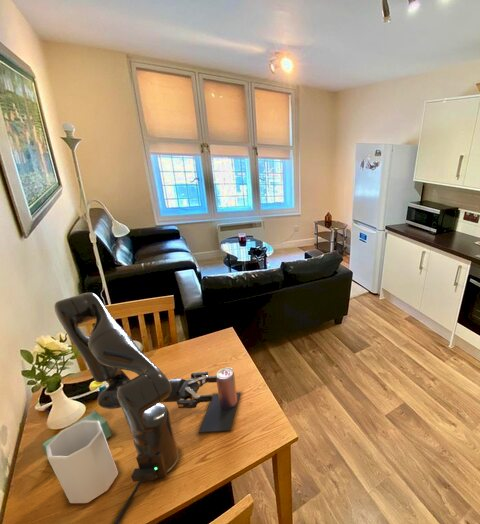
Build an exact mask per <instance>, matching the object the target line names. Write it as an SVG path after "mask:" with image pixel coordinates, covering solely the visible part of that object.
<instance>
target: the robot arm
mask: <svg viewBox="0 0 480 524" xmlns="http://www.w3.org/2000/svg"><path fill="white" fill-rule="evenodd" d="M53 306H54V307H53V308H54V312H55V315H56V317H57V320H58V322H59V323H60V325H61V326H62V328H63V329H64V331H65V332H66V334H67V336H68V337H69V339H70V340H71V342H72V343H73V345H74V346H75V348H76V349H77V351H78V352H79V353H80V355H81V356H82V358H83V359H84V362H85V363H86V365H87V368H88V370H89V372H90V374H91V376H92V378H93V380H94V381H95V382H96V383H105V382H106V383H107V385H108V386H106V387H105V388H104V389H103V390H102V391H100V393H99V394H98V396H97V399H96V400H97V404H98V405H99V407H100V408H103V409H105V410H115V409H120V408H121V410H122V412H123V414H124V417H125V420H126V424H127V426H128V429H129V432H130V435H131V439H132V442H133V445H134V447H135V451H136V454H137V456H136V458H135V459H136V463H137V465H138V468H137V467H136V468H134V470H133V472H132V474H131V475H130V477H131V480H132V482H133V483H134V482H137V484H136V486H135V487H134V489H133V491H132V492H131V494H130V495H129V497H128V499H127V501H126V503H125V504H124V506H123V508H122V509H121V511H120V513H119V515H118V517H117V518H116V520H115V522H113V524H119V522H120V521H121V519H122V517H123V515H124V514H125V512H126V511H127V508H128V507H129V505H130V504H131V501H132V500H133V498H134V496H135V495H136V493H137V491H138V490H139V488H140V486H141V485H142V483H143V482H146V481H147V482H148V481H154V480H155V479H161V478H162V479H163V478H166V477H167V475H168V474H169V473H170V472H171V471H172V470H173V469H174V468H175V466H176V465H177V464H178V461H179V459H180V452H179V449H178V445H177V441H176V436H175V433H174V429H173V425H172V420H171V416H170V411H169V408H168V407H167V406H166V405H165V404H163V403H176V404H177V408H178V409H195V408H197V406H198V404H200V403H210V402H211V401H212V396H213V394H202V395H199V394H198V391H199V390H200V388H201V387H203V386H204V385H205V384H207V383H211V384H212V383H213V384H214V383H217V380H216V375H209V372H208V371H199V372H192V373H190V378H189V379H187V380H186V379H184V378H170V379H169V378H168V377H167V375H166V374H165V373H164V372H163V371H162V370H161V369H160V368H159V367H158V366H157V365H155V363H154V362H152V360H151V359H149V358H148V356H146V355H145V354H144V353H143V352H142V350H141V349H140V348H139V346H137V344H136V342H135V341H134V339H132V337H131V336H130V335H129V334H128V333H127V332H126V331H125V329H124V328H123V327H122V326H121V325H120V324H119V323H118V322H117V320H116V319H115V318H114V317H113V316H112V314H111V313H110V311H109V310H108V308H107V307H106V305H105V303H104V302H103V301H102V300H101V298H100V297H99V296H98V295H97V294H96V293H94V292H84V293H81V294H76V295H73V296H70V297H66V298H64V299H60V300H57V301H56V302H55V303H54V305H53ZM93 320H95V324H94V326H93V328H92V330H91V332H90V334H89V336H88V335H86V334H85V333H84V332H83V331H82V330H81V328H80V327H79V325H81V324H84V323H85V324H86V323H88V322H90V321H93ZM123 370H124V371H129V372H133V373H135V374H136V375H137V376H135V377H133V378H132V379H131V378H130V377H129V376H128V375H127V374H126V373H125V372H124V371H123Z"/></svg>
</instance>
